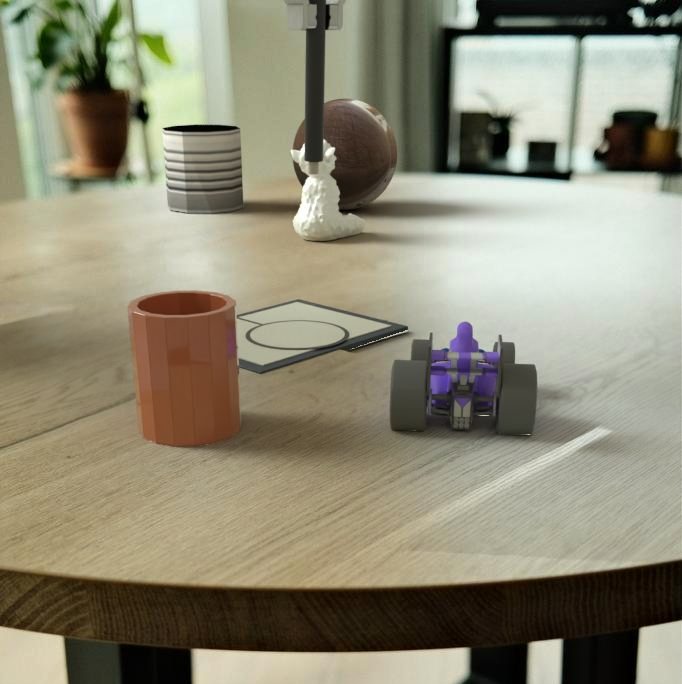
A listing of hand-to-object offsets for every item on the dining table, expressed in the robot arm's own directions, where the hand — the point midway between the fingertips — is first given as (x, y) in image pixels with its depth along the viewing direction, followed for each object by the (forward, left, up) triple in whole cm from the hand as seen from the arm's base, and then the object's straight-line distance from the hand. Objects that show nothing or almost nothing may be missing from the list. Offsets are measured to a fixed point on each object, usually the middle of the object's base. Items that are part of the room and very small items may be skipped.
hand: (315, 30), depth 78 cm
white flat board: (-3, -1, -25) cm, 25 cm away
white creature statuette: (-32, +34, -25) cm, 53 cm away
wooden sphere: (-44, +51, -25) cm, 72 cm away
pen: (0, 0, -11) cm, 11 cm away
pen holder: (+9, -21, -25) cm, 34 cm away
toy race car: (+19, -4, -25) cm, 31 cm away
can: (-60, +38, -25) cm, 75 cm away
